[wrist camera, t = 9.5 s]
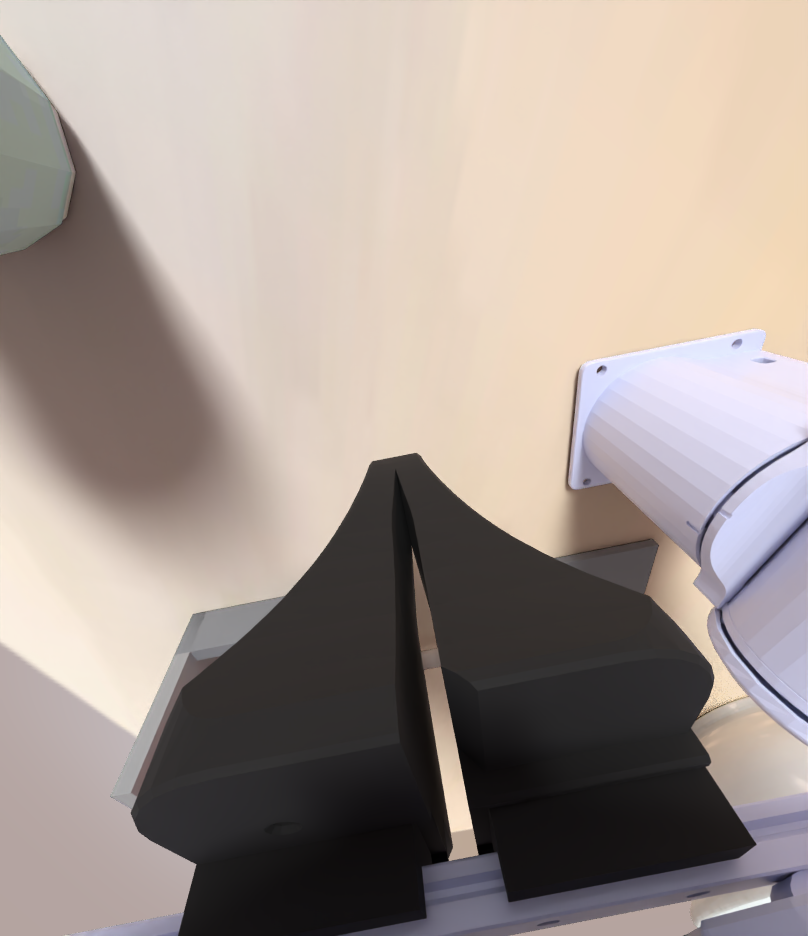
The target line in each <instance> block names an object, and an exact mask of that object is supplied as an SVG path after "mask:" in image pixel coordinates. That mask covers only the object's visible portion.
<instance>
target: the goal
mask: <svg viewBox="0 0 808 936" xmlns="http://www.w3.org/2000/svg"><path fill="white" fill-rule="evenodd" d="M284 597H285V596H284ZM284 597H279V598H274V599H269V600H264V601H258V602H253V603H248V604H243V605H238V606H233V607H228V608H222V609H217V610H212V611H207V612H202V613H197V614H193V615H192V617H191V619H190V622H189V624H188V626H187V628H186V630H185V633H184V635H183V637H182V639H181V642H180V644H179V646H178V648H177V650H176V653H175V655H174V657H173V659H172V661H171V664H170V666H169V668H168V670H167V672H166V675H165V677H164V679H163V681H162V683H161V686H160V688H159V690H158V692H157V694H156V697H155V699H154V701H153V703H152V705H151V708H150V710H149V712H148V714H147V717H146V719H145V721H144V723H143V725H142V728H141V730H140V732H139V734H138V736H137V739H136V741H135V743H134V745H133V747H132V750H131V752H130V754H129V756H128V759H127V761H126V763H125V765H124V767H123V770H122V772H121V774H120V776H119V778H118V781H117V783H116V785H115V787H114V789H113V792H112V794H111V796H110V797H111V798H113V799H115V800H116V801H118V802H120V803H122V804H124V805H125V806H127V807H129V808H130V809H132V808H133V806H134V803H135V801H136V798H137V796H138V793H139V791H140V788H141V786H142V783H143V780H144V778H145V775H146V773H147V770H148V768H149V765H150V763H151V760H152V758H153V755H154V752H155V750H156V747H157V745H158V742H159V740H160V737H161V735H162V732H163V729H164V727H165V724H166V722H167V719H168V717H169V715H170V713H171V711H172V709H173V707H174V704H175V702H176V700H177V698H178V696H179V694H180V692H181V689H182V687H184V686H185V685H186V684H187V683H189V682H190V681H191V680H192V679H194V678H195V677H196V676H197V675H199V674H200V673H201V672H202V671H203V670H204V669H206V668H207V667H208V666H209V665H210V664H212V663H213V662H214V661H215V660H216V659H218V658H219V657H220V656H221V655H222V654H224V653H225V652H226V651H227V650H228V649H229V648H231V647H232V646H233V645H234V644H235V643H237V642H238V641H239V640H240V639H241V638H242V637H243V636H244V635H246V634H247V633H248V632H249V631H250V630H251V629H252V628H253V627H254V626H255V625H256V624H257V623H258V622H259V621H261V620H262V619H263V618H264V617H265V616H266V615H267V614H268V613H269V612H270V611H271V610H272V609H273V608H274V607H275V606H276V605H277V604H278V603H279V602H280V601H281V600H282V599H283V598H284Z"/></svg>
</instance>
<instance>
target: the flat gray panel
mask: <svg viewBox="0 0 808 936" xmlns="http://www.w3.org/2000/svg"><path fill="white" fill-rule="evenodd" d="M658 546H659V545H658V544H657V543H656V542H655V541H654V540H653V539H651V540H646V541H641V542H636V543H631V544H626V545H621V546H615V547H610V548H605V549H600V550H595V551H590V552H585V553H579V554H574V555H569V556H564V557H559V558H554V559H557V560H559V561H561V562H563V563H566V564H568V565H570V566H572V567H575V568H577V569H579V570H581V571H584V572H586V573H588V574H591V575H594V576H596V577H599V578H602V579H604V580H607V581H610V582H612V583H615V584H618V585H620V586H623V587H626V588H629V589H631V590H634V591H637V592H639V593H642V594H644V593H645V589H646V586H647V583H648V579H649V576H650V573H651V569H652V566H653V563H654V559H655V556H656V553H657V549H658Z"/></svg>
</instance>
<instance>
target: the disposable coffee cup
mask: <svg viewBox="0 0 808 936" xmlns="http://www.w3.org/2000/svg"><path fill="white" fill-rule="evenodd" d="M75 174H76V172H75V168H74V165H73V162H72V159H71V155H70V152H69V149H68V146H67V142H66V139H65V136H64V133H63V130H62V126H61V123H60V120H59V117H58V113H57V111H56V110H55V108H54V107H53V106H52V104H51V103H50V101H49V100H48V98H47V97H46V96H45V94H44V93H43V92H42V90H41V89H40V88H39V86H38V85H37V84H36V82H35V81H34V80H33V78H32V77H31V76H30V74H29V73H28V72H27V70H26V69H25V68H24V66H23V65H22V63H21V62H20V61H19V59H18V58H17V57H16V55H15V54H14V53H13V51H12V50H11V49H10V47H9V46H8V45H7V43H6V42H5V41H4V39H3V38H2V37H1V35H0V255H3V254H7V253H11V252H16V251H20V250H24V249H26V248H27V247H29V246H30V245H32V244H33V243H35V242H36V241H38V240H39V239H41V238H42V237H43V236H45V235H46V234H48V233H49V232H51V231H52V230H54V229H55V228H56V227H58V226H59V225H61V224H62V220H64V219H65V218H67V213H68V208H69V203H70V199H71V194H72V189H73V184H74V179H75Z"/></svg>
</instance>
